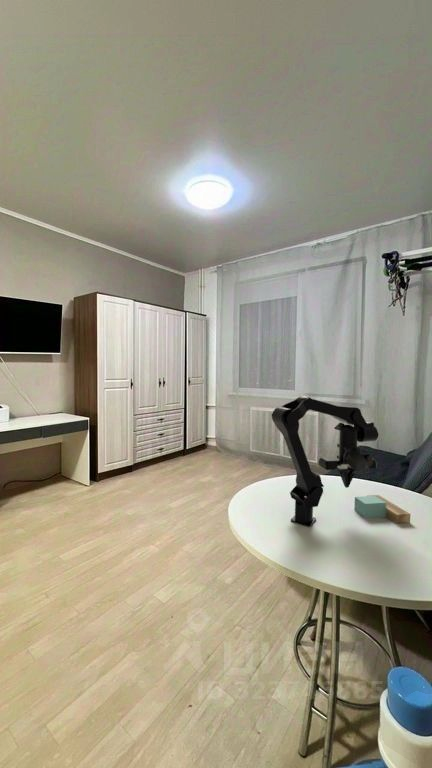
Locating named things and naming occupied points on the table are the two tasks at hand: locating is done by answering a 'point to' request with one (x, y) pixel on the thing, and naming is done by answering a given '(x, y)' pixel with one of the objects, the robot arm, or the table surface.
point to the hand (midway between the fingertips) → (346, 487)
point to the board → (395, 512)
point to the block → (370, 506)
